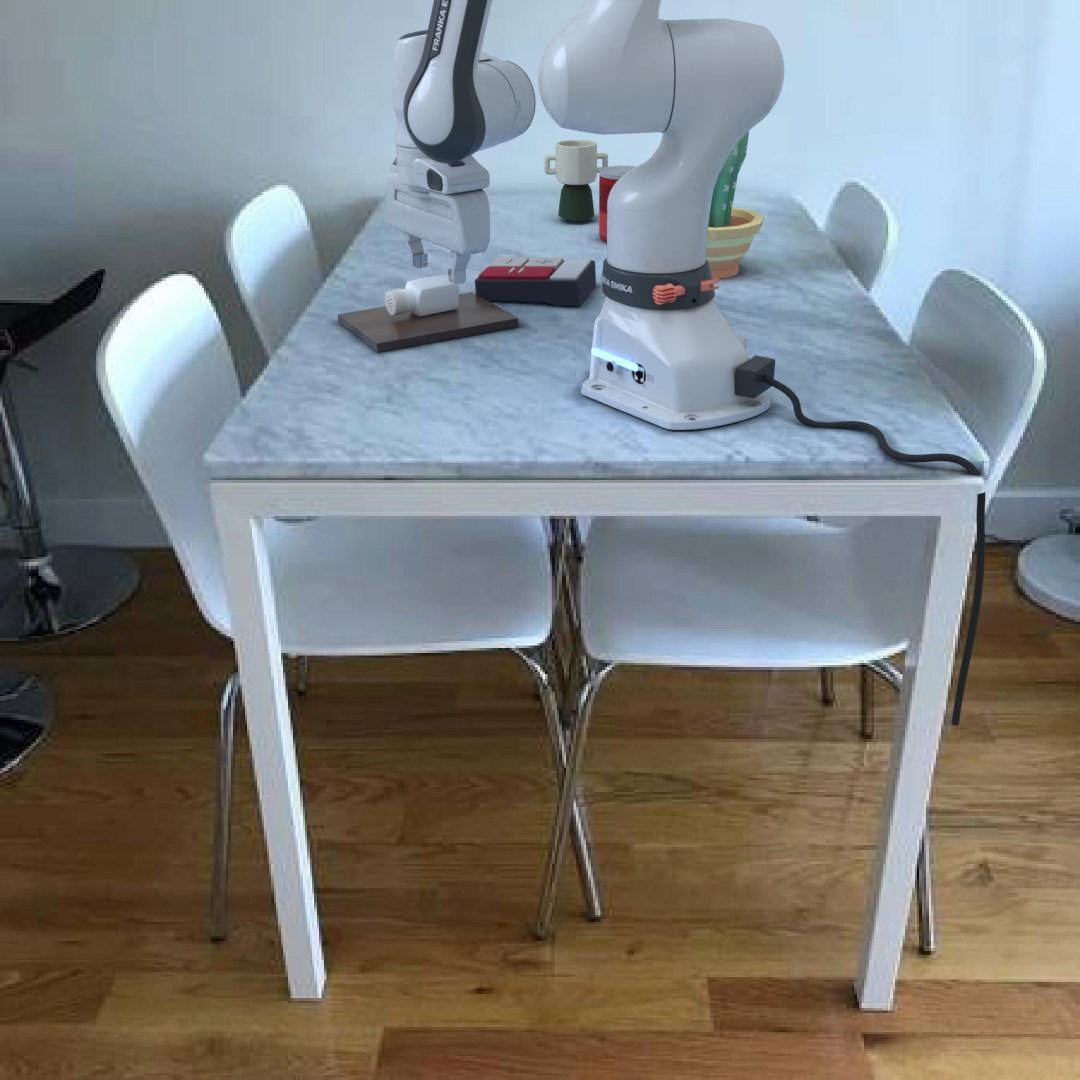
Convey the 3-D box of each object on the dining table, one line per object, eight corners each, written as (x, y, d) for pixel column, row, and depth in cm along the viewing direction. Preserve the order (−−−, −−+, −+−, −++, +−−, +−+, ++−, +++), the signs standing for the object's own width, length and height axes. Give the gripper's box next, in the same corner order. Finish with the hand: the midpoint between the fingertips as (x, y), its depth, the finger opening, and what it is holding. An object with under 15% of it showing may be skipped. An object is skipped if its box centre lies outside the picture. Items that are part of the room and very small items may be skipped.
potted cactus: (754, 256, 191) (765, 87, 180) (767, 284, 178) (780, 103, 166) (654, 257, 192) (659, 88, 180) (660, 285, 178) (665, 104, 167)
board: (518, 326, 162) (518, 318, 162) (377, 352, 154) (376, 343, 153) (472, 300, 173) (472, 291, 173) (338, 322, 165) (337, 314, 164)
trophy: (604, 214, 218) (605, 138, 211) (610, 224, 211) (611, 145, 205) (543, 216, 217) (542, 140, 211) (546, 226, 211) (545, 147, 204)
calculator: (495, 254, 181) (595, 254, 177) (498, 283, 182) (596, 284, 179) (473, 275, 171) (578, 275, 167) (475, 305, 173) (579, 306, 169)
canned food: (610, 246, 198) (611, 177, 193) (591, 235, 204) (591, 167, 199) (653, 241, 200) (655, 172, 195) (632, 230, 207) (634, 163, 202)
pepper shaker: (460, 281, 163) (397, 294, 159) (460, 310, 165) (397, 323, 161) (445, 272, 166) (382, 283, 161) (445, 299, 168) (383, 312, 164)
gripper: (370, 157, 161) (378, 262, 167) (453, 182, 146) (458, 296, 153) (411, 151, 164) (418, 254, 171) (497, 175, 149) (500, 287, 156)
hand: (438, 274), depth 162 cm, fingers open, 8 cm apart
